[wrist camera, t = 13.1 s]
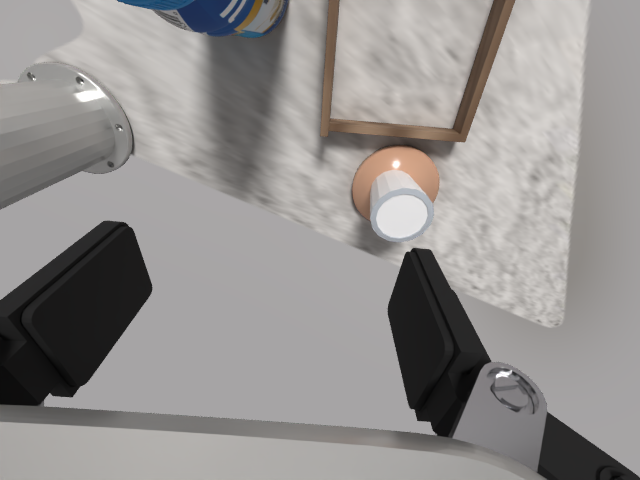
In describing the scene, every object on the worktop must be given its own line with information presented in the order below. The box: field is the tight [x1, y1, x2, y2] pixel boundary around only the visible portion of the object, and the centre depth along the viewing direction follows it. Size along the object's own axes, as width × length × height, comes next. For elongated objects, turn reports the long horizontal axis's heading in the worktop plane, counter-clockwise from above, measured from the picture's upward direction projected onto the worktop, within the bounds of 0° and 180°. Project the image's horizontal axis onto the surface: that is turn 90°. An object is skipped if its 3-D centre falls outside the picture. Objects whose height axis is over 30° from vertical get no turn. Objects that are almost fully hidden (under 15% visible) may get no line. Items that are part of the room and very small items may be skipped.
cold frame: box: [320, 0, 515, 142], centre depth 27 cm, size 16×16×5 cm
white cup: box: [370, 170, 434, 242], centre depth 34 cm, size 7×7×7 cm
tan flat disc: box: [352, 145, 439, 221], centre depth 37 cm, size 11×11×1 cm
